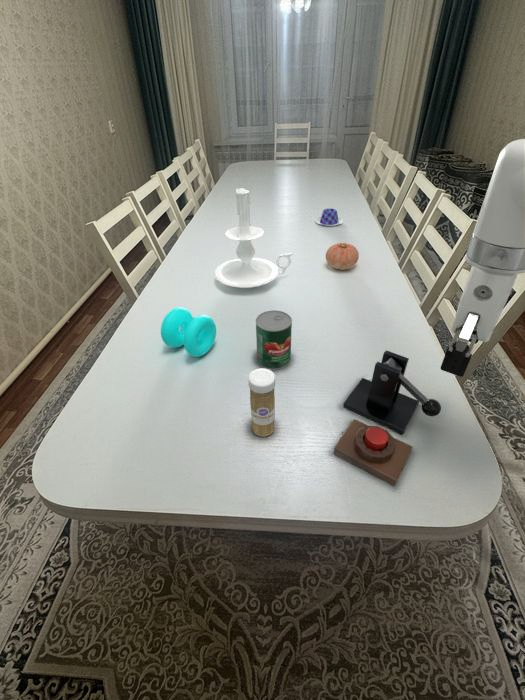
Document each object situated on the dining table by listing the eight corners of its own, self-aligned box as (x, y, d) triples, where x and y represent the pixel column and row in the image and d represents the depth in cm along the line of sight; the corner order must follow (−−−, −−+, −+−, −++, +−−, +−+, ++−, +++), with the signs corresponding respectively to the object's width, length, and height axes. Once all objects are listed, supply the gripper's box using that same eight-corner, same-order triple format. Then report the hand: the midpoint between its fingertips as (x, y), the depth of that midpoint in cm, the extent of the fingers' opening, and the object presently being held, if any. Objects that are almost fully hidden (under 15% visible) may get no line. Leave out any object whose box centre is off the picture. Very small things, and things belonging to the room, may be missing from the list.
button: (389, 439, 62) (391, 433, 61) (381, 454, 59) (383, 447, 58) (369, 430, 63) (370, 423, 62) (360, 444, 61) (362, 437, 60)
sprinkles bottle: (255, 440, 66) (252, 388, 58) (248, 422, 69) (245, 370, 61) (278, 434, 67) (279, 382, 59) (271, 416, 70) (270, 364, 62)
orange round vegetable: (359, 274, 117) (363, 250, 112) (326, 274, 117) (328, 251, 112) (353, 260, 126) (357, 237, 121) (322, 260, 126) (324, 238, 121)
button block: (410, 452, 63) (415, 440, 61) (394, 486, 58) (399, 474, 56) (352, 424, 68) (355, 412, 66) (333, 453, 63) (335, 441, 61)
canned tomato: (276, 375, 80) (276, 335, 73) (250, 360, 84) (247, 321, 77) (297, 357, 84) (299, 318, 78) (271, 344, 89) (271, 306, 82)
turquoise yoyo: (194, 366, 83) (188, 331, 77) (162, 353, 87) (154, 318, 81) (220, 343, 89) (216, 309, 83) (189, 332, 94) (183, 298, 87)
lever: (433, 411, 67) (447, 405, 64) (428, 422, 65) (442, 416, 62) (382, 362, 68) (393, 354, 66) (375, 372, 66) (387, 364, 64)
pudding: (342, 227, 150) (344, 215, 147) (314, 226, 152) (314, 214, 149) (342, 218, 160) (344, 206, 156) (315, 217, 162) (316, 205, 158)
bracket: (417, 405, 72) (433, 360, 65) (402, 434, 66) (418, 389, 59) (361, 381, 78) (370, 337, 70) (343, 407, 72) (350, 362, 65)
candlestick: (295, 294, 108) (299, 196, 90) (213, 297, 107) (201, 200, 90) (288, 264, 124) (290, 177, 106) (216, 267, 123) (207, 180, 106)
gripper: (526, 285, 39) (473, 397, 49) (542, 235, 49) (496, 336, 60) (452, 269, 42) (417, 377, 53) (482, 226, 53) (448, 322, 64)
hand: (459, 355), depth 56 cm, fingers open, 9 cm apart
